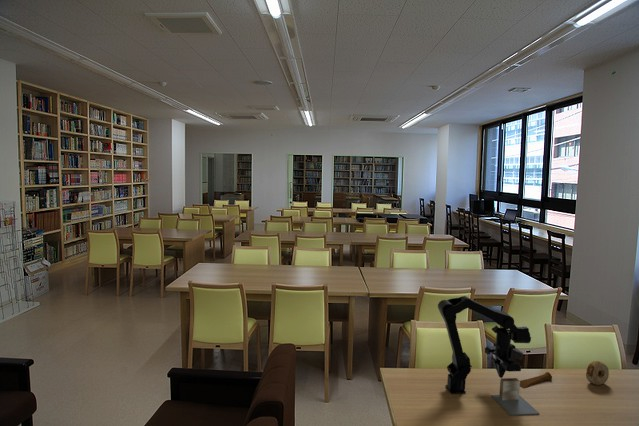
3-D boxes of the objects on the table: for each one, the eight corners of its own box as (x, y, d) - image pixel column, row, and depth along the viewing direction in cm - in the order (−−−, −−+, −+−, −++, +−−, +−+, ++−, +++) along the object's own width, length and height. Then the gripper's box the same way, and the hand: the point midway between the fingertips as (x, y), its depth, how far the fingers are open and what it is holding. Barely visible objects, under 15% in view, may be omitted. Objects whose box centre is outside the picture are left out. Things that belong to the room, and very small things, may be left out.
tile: (502, 400, 169) (503, 381, 168) (499, 396, 171) (500, 378, 170) (518, 399, 169) (520, 381, 169) (515, 396, 172) (516, 378, 171)
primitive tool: (523, 389, 180) (523, 381, 179) (512, 383, 185) (513, 376, 184) (553, 381, 187) (553, 374, 187) (542, 376, 192) (542, 368, 192)
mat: (510, 415, 159) (510, 414, 159) (491, 396, 173) (491, 395, 172) (539, 414, 160) (539, 413, 160) (518, 395, 174) (518, 394, 174)
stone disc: (591, 386, 182) (592, 365, 181) (583, 382, 186) (585, 361, 185) (609, 384, 185) (611, 363, 184) (602, 380, 188) (604, 359, 188)
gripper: (534, 351, 167) (531, 388, 168) (508, 333, 185) (506, 366, 187) (508, 351, 165) (506, 389, 167) (485, 333, 184) (483, 367, 185)
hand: (500, 377), depth 176 cm, fingers closed
